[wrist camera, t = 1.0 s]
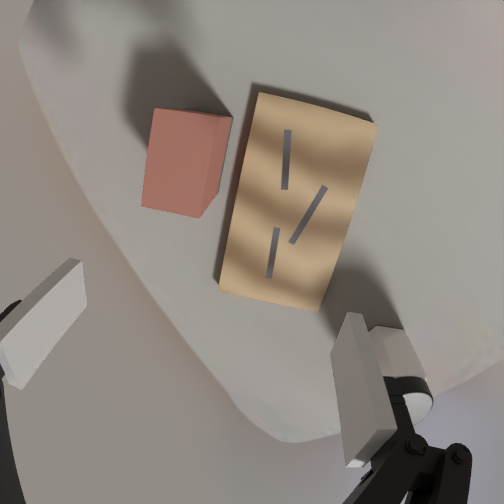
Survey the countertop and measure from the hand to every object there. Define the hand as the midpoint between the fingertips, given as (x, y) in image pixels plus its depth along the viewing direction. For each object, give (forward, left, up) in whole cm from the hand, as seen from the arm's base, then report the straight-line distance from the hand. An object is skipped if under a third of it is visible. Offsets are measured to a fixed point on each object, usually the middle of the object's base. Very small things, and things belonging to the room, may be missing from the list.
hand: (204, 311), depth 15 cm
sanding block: (-4, -5, -20) cm, 21 cm away
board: (0, +5, -20) cm, 21 cm away
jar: (+16, +22, -21) cm, 34 cm away
